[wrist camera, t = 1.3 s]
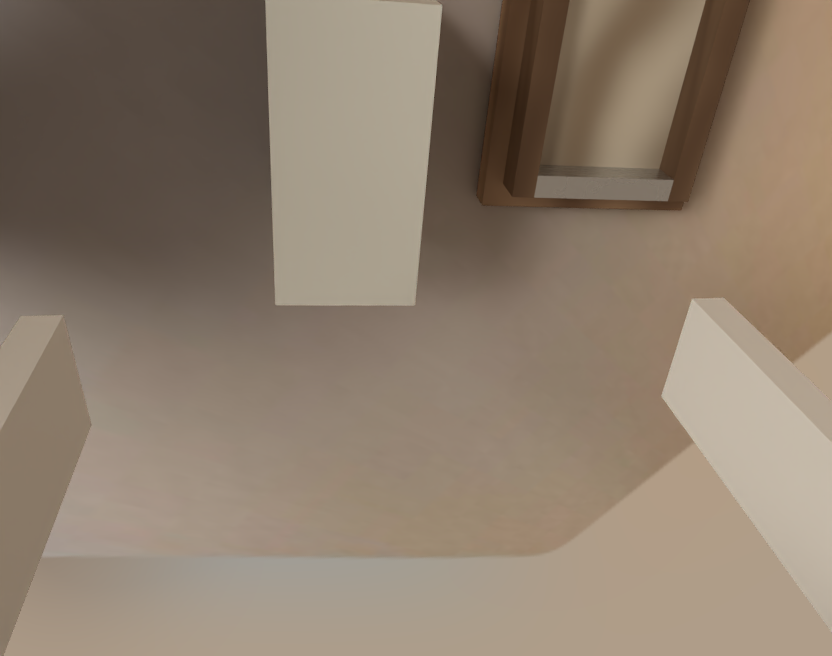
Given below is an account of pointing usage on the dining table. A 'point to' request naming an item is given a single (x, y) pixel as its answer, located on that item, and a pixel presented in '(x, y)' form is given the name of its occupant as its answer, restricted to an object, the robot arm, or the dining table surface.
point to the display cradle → (604, 101)
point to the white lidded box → (349, 146)
